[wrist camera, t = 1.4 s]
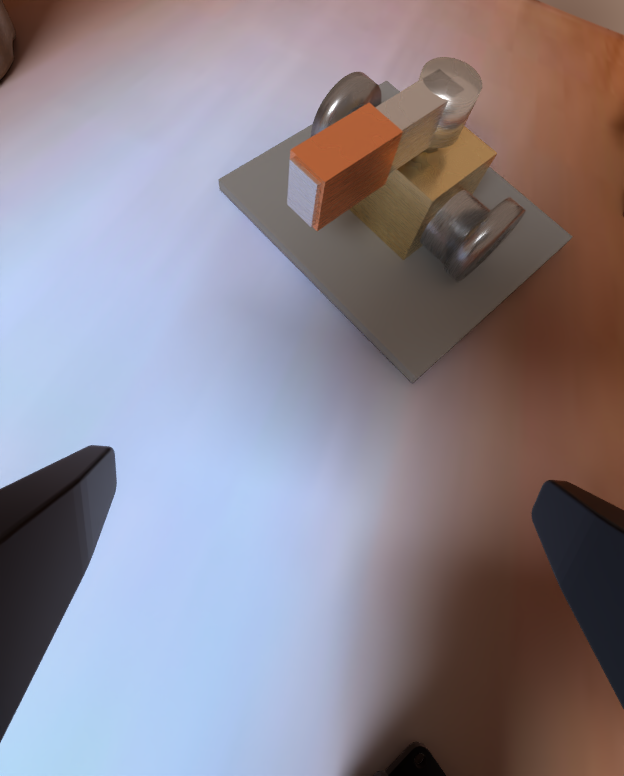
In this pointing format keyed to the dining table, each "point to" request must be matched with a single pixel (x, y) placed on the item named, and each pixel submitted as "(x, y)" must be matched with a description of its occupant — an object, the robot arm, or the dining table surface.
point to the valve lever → (379, 141)
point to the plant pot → (5, 40)
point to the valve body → (428, 192)
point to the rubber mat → (393, 262)
